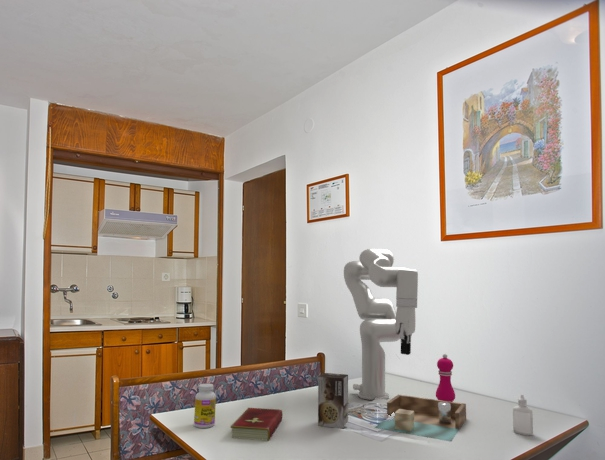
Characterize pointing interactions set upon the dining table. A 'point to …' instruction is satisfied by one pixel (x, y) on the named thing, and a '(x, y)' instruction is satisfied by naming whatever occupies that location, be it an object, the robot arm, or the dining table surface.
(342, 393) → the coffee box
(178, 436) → the dining table surface
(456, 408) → the cubby
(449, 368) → the pepper mill
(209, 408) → the supplement bottle
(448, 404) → the steel peg
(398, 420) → the birch block
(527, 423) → the eye dropper bottle
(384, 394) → the robot arm
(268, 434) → the hardcover book
